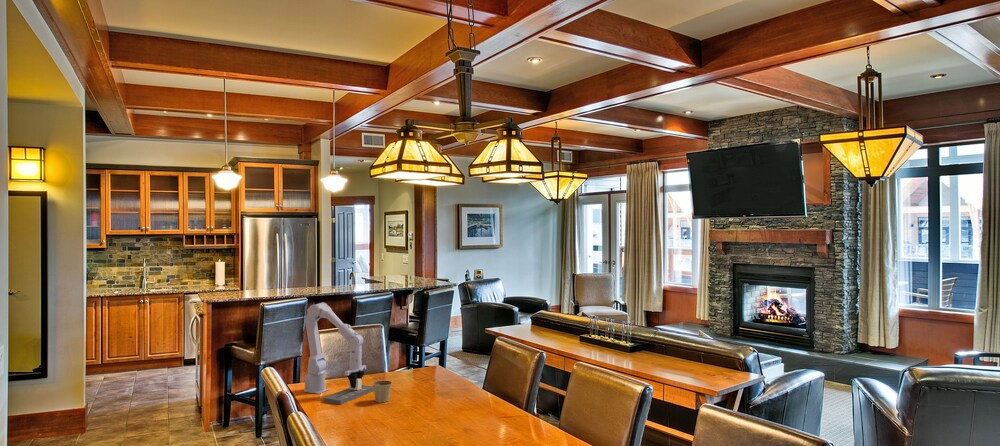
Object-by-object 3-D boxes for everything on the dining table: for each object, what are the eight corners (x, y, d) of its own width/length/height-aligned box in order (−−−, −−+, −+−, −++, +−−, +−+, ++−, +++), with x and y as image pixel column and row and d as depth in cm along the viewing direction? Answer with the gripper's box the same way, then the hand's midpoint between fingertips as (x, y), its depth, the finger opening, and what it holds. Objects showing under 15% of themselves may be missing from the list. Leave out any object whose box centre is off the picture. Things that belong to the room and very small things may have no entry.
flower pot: (394, 398, 276) (394, 380, 277) (389, 404, 267) (389, 385, 267) (375, 397, 277) (375, 379, 277) (369, 403, 268) (369, 385, 268)
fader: (349, 389, 283) (349, 378, 283) (353, 387, 286) (353, 377, 286) (357, 390, 281) (357, 380, 281) (361, 388, 284) (361, 378, 284)
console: (323, 402, 270) (323, 397, 270) (358, 388, 294) (358, 384, 294) (340, 404, 266) (340, 400, 266) (374, 390, 290) (374, 386, 290)
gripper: (353, 363, 276) (352, 391, 276) (371, 357, 289) (370, 384, 289) (341, 361, 279) (340, 389, 278) (359, 355, 292) (359, 382, 292)
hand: (355, 386), depth 284 cm, fingers closed on fader, 3 cm apart
